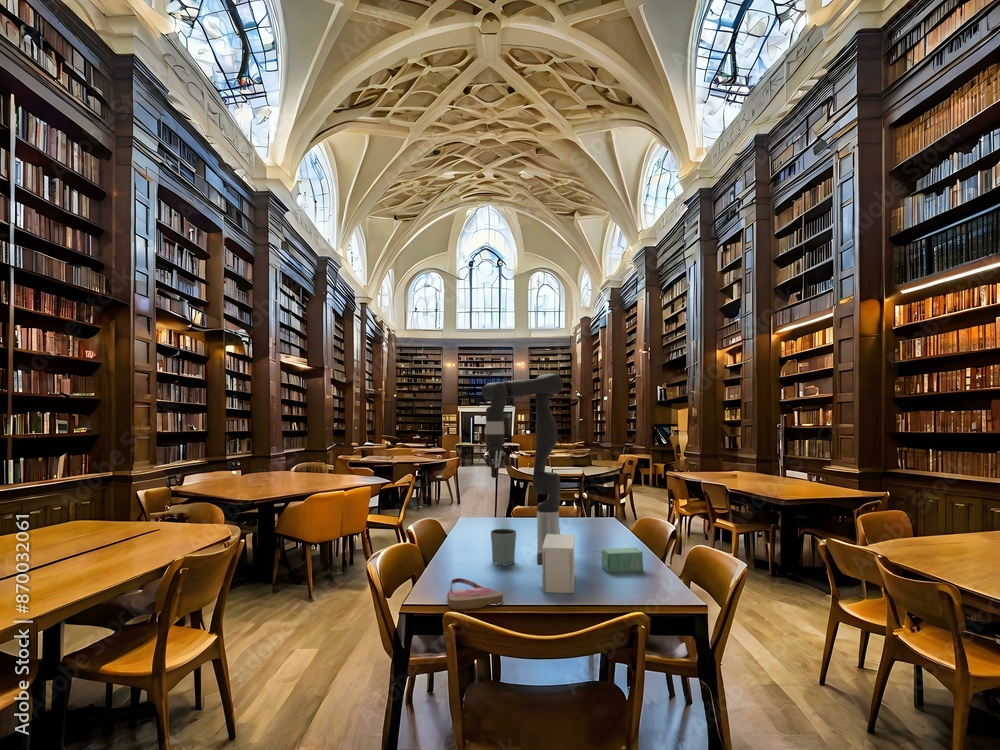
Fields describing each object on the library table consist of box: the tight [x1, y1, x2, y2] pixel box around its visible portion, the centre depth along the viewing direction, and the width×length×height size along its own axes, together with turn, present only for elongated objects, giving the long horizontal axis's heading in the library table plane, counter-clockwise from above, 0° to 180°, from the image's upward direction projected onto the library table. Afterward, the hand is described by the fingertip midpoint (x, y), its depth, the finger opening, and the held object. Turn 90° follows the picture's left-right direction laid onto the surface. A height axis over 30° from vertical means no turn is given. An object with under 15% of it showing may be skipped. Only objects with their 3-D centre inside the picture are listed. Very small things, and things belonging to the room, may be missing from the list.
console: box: [541, 533, 576, 594], centre depth 190 cm, size 22×10×14 cm, turn 172°
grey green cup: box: [490, 528, 517, 565], centre depth 217 cm, size 10×10×12 cm
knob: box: [536, 551, 542, 566], centre depth 190 cm, size 5×8×5 cm, turn 82°
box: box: [601, 547, 644, 574], centre depth 205 cm, size 7×14×8 cm, turn 98°
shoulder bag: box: [446, 577, 504, 610], centre depth 178 cm, size 17×3×28 cm
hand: (494, 477), depth 217 cm, fingers closed
